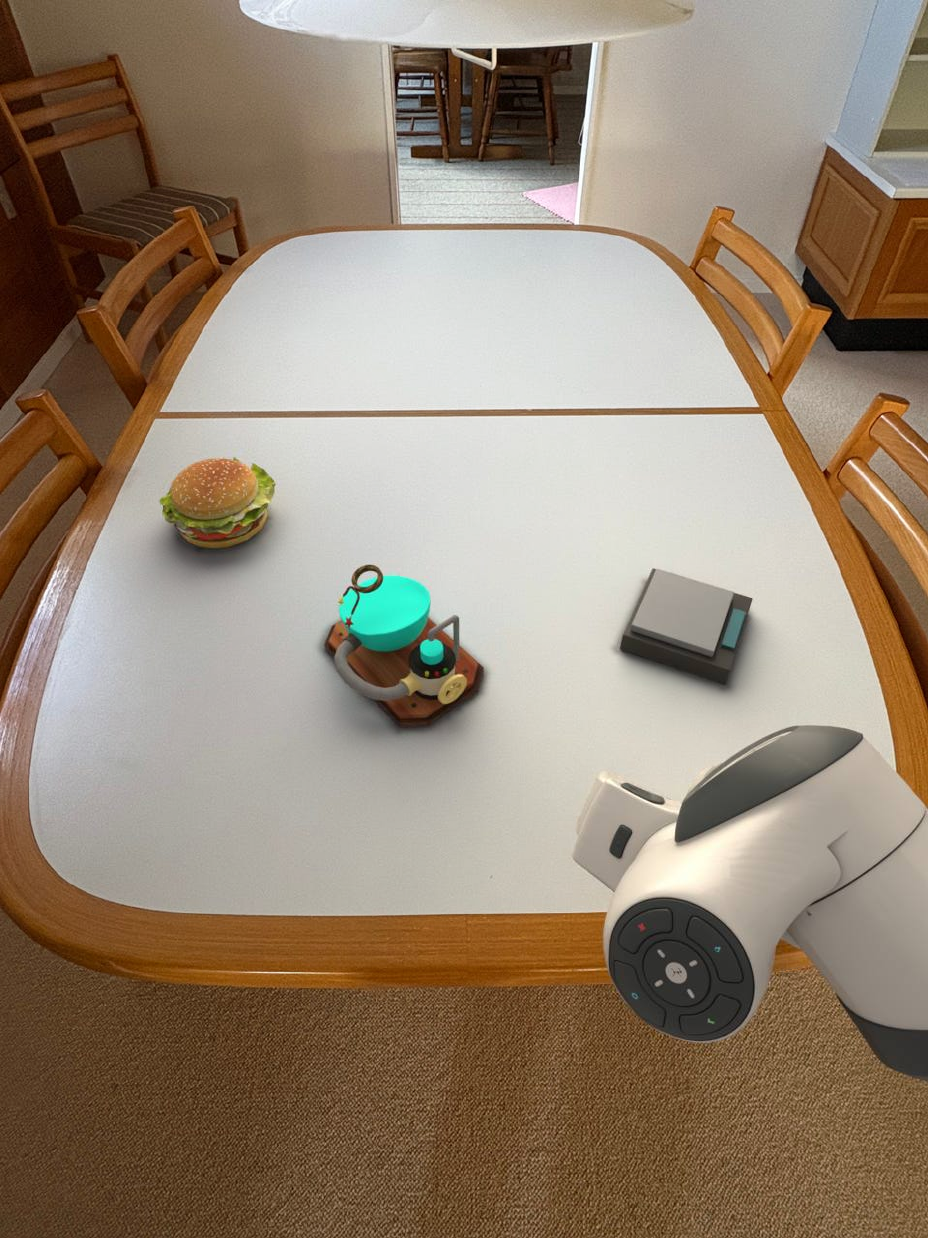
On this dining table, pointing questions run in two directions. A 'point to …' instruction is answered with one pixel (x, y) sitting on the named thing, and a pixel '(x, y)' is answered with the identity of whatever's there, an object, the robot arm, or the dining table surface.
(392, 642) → the contraption on wooden base
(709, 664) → the scale
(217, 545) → the food
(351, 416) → the dining table surface
